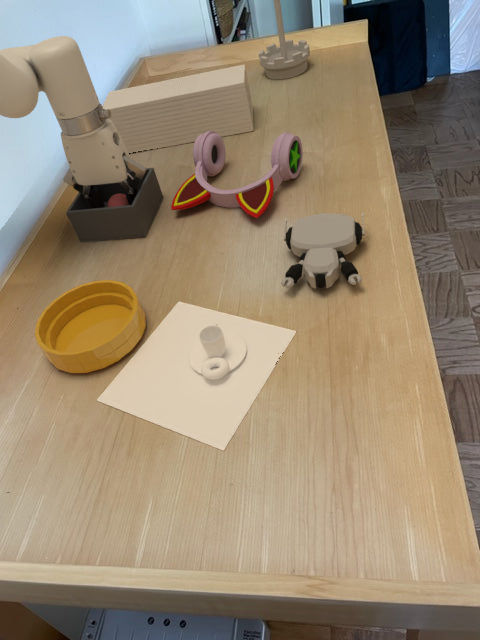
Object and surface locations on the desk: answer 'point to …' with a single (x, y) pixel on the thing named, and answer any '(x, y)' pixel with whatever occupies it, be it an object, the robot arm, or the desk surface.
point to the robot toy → (323, 249)
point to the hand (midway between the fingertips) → (118, 210)
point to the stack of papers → (182, 109)
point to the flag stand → (284, 53)
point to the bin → (117, 212)
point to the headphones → (249, 197)
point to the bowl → (91, 326)
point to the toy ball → (118, 200)
